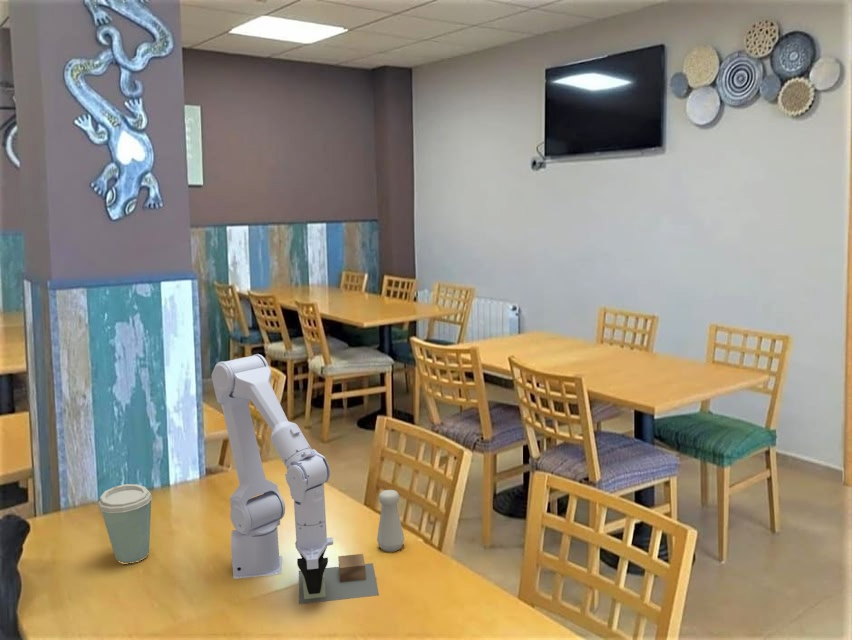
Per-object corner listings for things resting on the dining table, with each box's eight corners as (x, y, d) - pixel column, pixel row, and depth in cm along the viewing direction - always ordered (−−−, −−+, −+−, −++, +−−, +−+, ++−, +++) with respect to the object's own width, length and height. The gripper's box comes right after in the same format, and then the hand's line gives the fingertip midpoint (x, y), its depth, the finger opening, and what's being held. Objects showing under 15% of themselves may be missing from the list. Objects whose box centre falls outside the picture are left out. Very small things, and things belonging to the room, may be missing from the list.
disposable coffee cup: (166, 556, 165) (160, 490, 163) (118, 575, 158) (111, 506, 155) (142, 542, 173) (136, 478, 170) (95, 560, 165) (88, 493, 162)
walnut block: (340, 582, 151) (339, 567, 151) (338, 570, 156) (338, 556, 156) (365, 579, 152) (365, 565, 151) (363, 567, 157) (363, 553, 156)
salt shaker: (401, 556, 162) (398, 498, 160) (374, 554, 163) (372, 496, 161) (407, 544, 168) (405, 487, 166) (381, 542, 169) (379, 486, 167)
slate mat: (298, 606, 144) (298, 603, 144) (299, 573, 156) (298, 570, 156) (379, 598, 146) (379, 595, 146) (372, 565, 159) (372, 563, 159)
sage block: (304, 599, 145) (302, 579, 145) (304, 588, 149) (302, 569, 148) (325, 596, 146) (324, 577, 145) (324, 586, 150) (323, 567, 149)
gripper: (333, 533, 139) (337, 604, 141) (330, 502, 153) (333, 566, 155) (293, 537, 138) (297, 608, 140) (294, 505, 152) (298, 570, 154)
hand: (314, 586), depth 147 cm, fingers closed on sage block, 4 cm apart
